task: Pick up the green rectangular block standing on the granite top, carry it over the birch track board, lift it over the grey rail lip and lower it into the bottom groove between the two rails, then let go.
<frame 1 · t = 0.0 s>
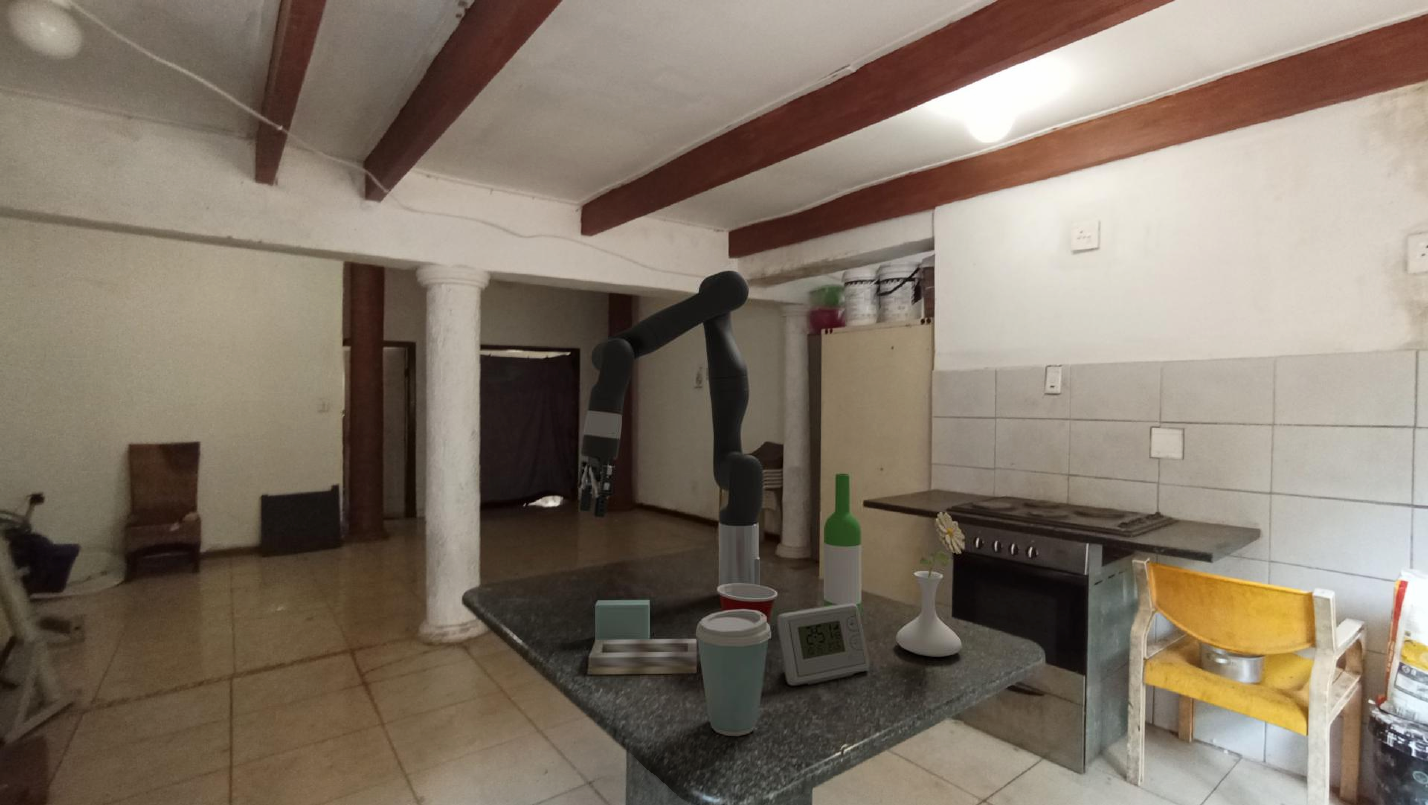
hand: (591, 513, 129), 22 cm above the counter, tool pointing down, fingers open, 8 cm apart
wine bottle: (842, 616, 134), on the counter
plastic cup: (747, 657, 112), on the counter
disposable coffee cup: (732, 725, 88), on the counter
digital clock: (823, 676, 105), on the counter
green rectangular block: (622, 639, 121), on the counter
flower in vase: (932, 651, 115), on the counter
track board: (644, 661, 110), on the counter
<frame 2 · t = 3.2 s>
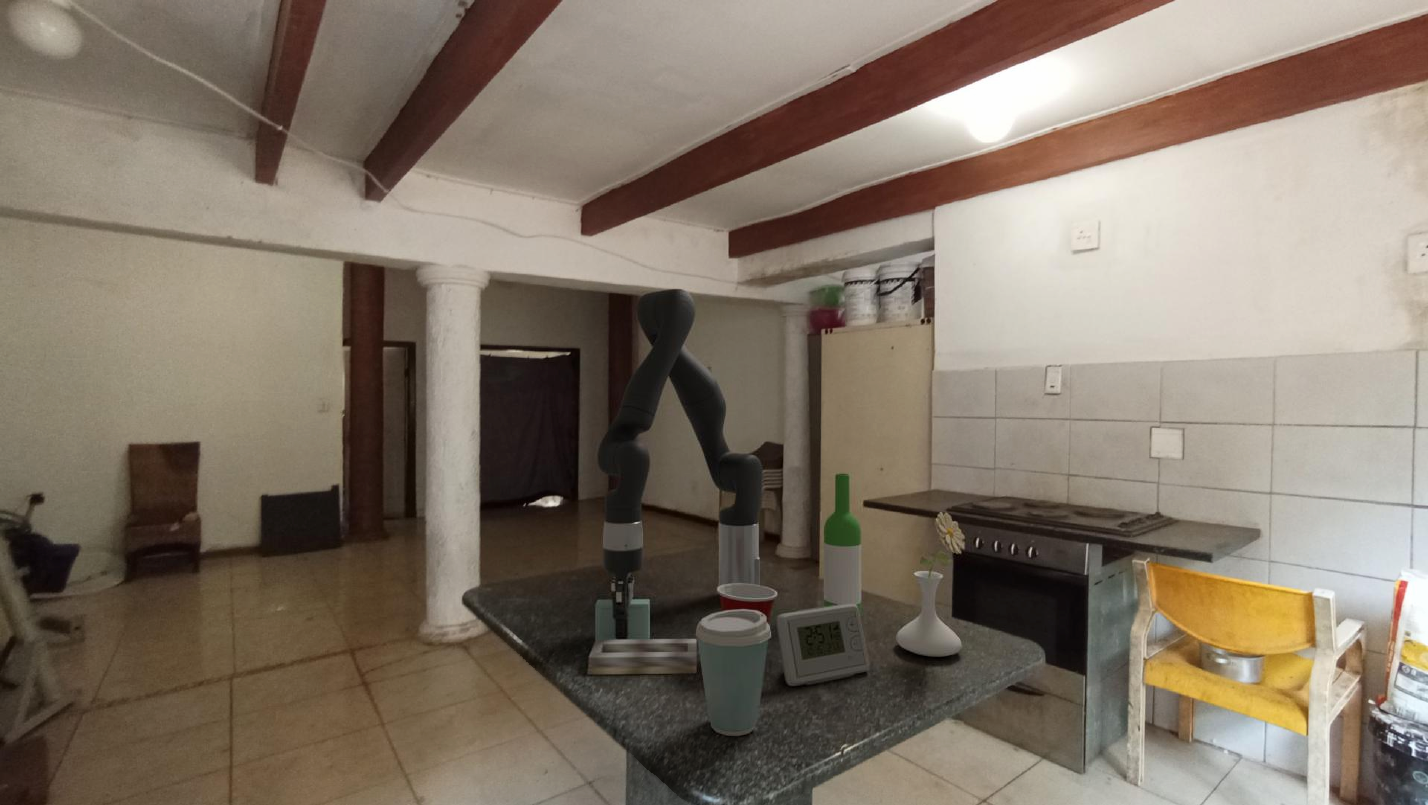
hand: (622, 634, 121), 1 cm above the counter, tool pointing down, fingers closed on green rectangular block, 3 cm apart
green rectangular block: (622, 638, 121), on the counter, touching gripper
everything else where it was.
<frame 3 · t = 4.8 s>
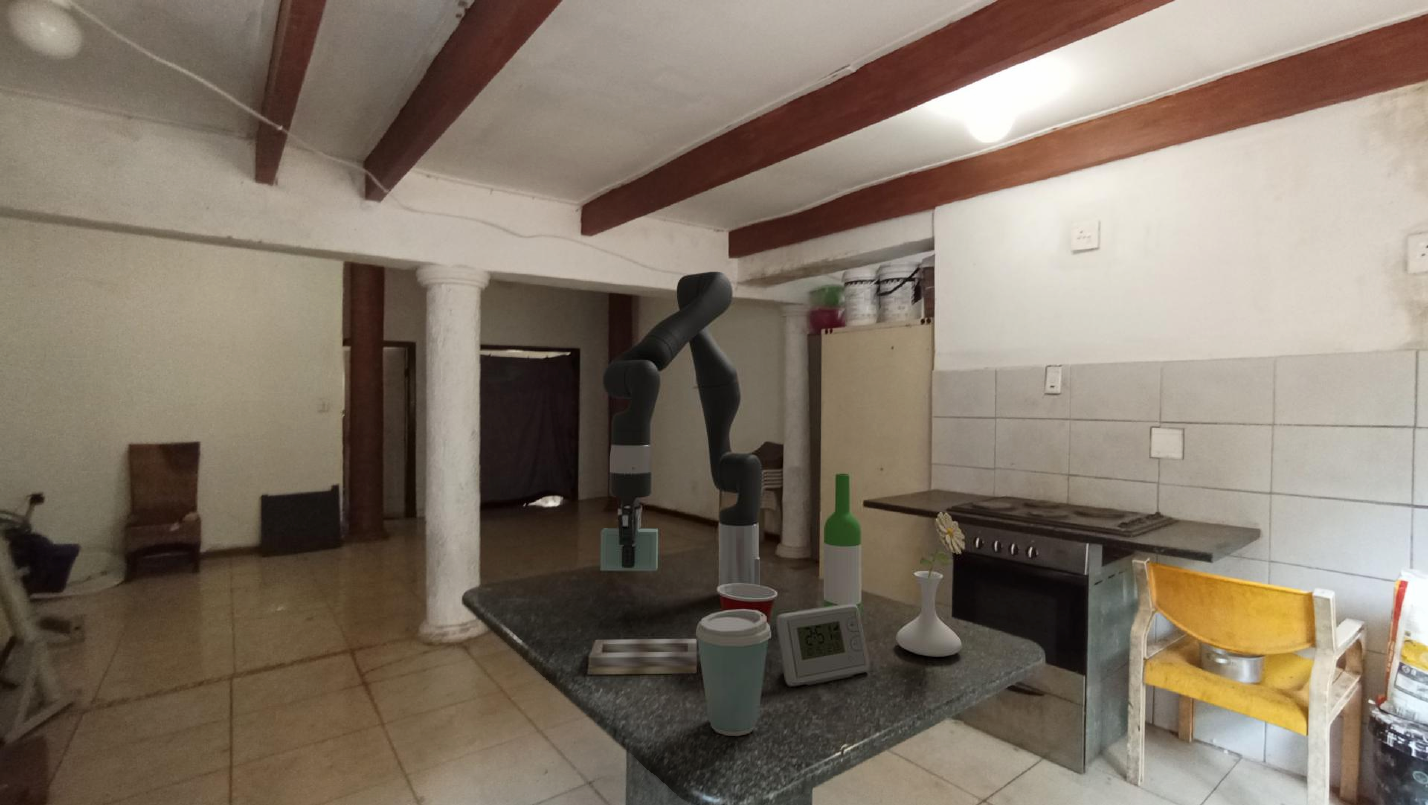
hand: (629, 564, 115), 16 cm above the counter, tool pointing down, fingers closed on green rectangular block, 3 cm apart
green rectangular block: (629, 568, 115), point 15 cm above the counter, touching gripper
everything else where it was.
when the fingers open (3 cm above the counter, at t = 6.7 s): green rectangular block drops 2 cm, resting on track board.
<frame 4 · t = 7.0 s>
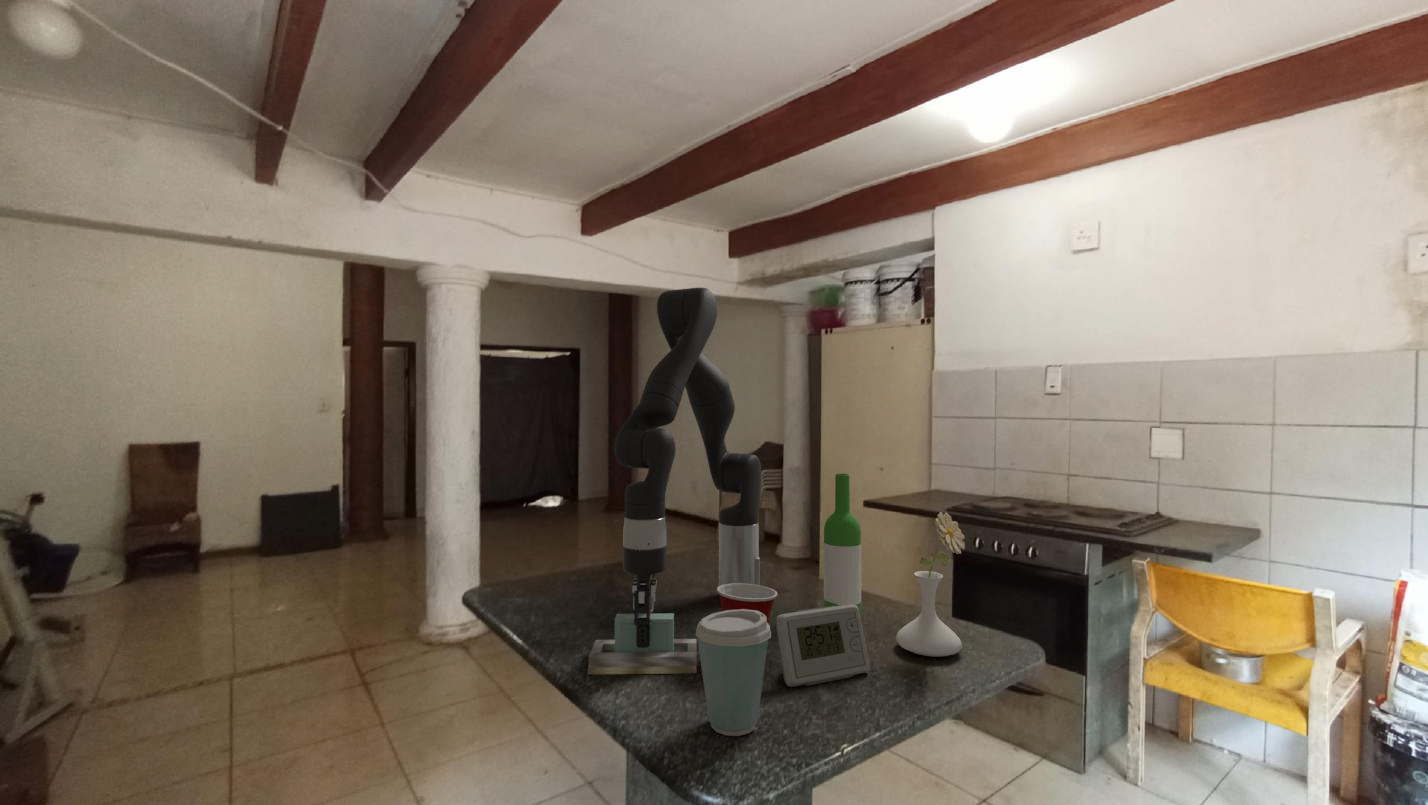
hand: (644, 639, 110), 4 cm above the counter, tool pointing down, fingers open, 5 cm apart
green rectangular block: (644, 656, 110), point 1 cm above the counter, touching track board
everything else where it was.
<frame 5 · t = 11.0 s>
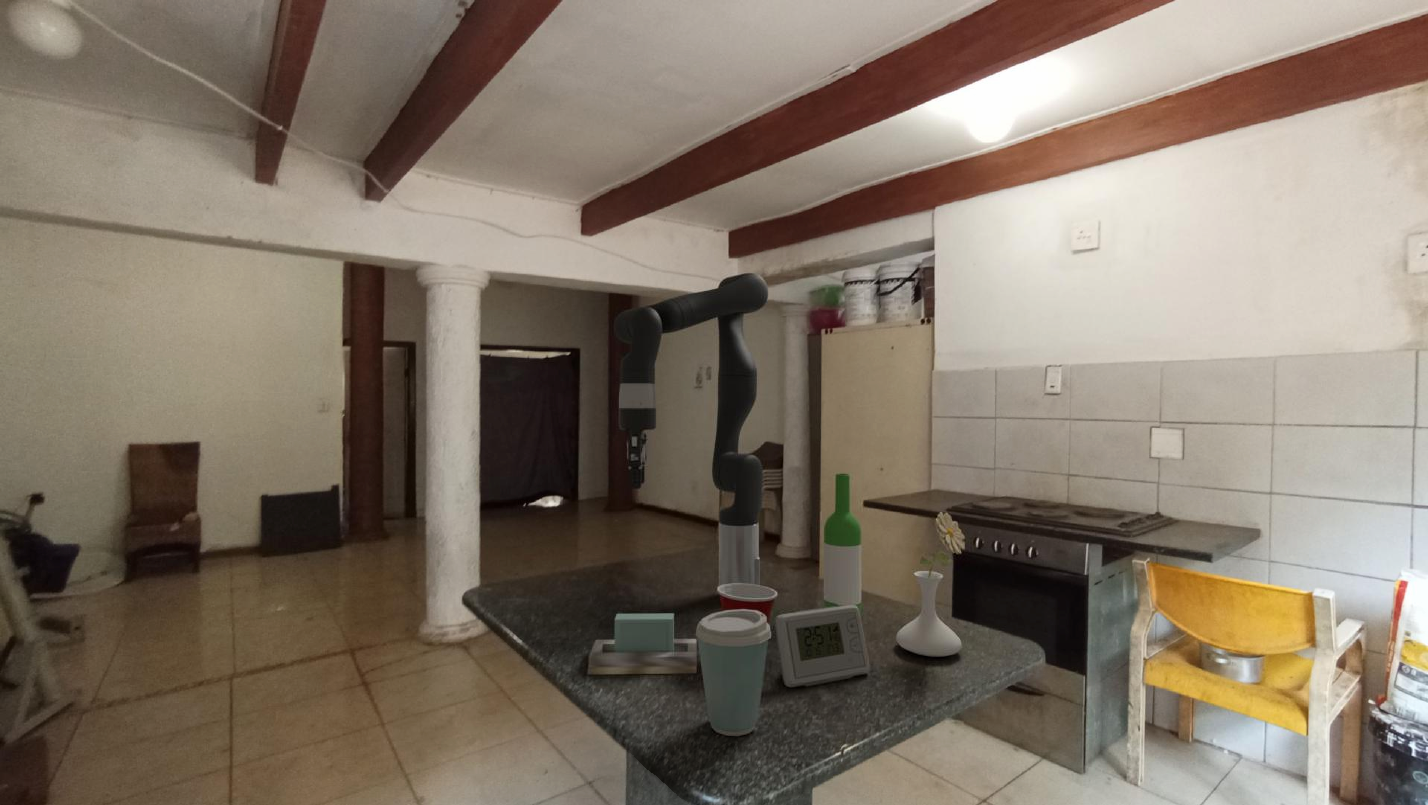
hand: (637, 485, 129), 28 cm above the counter, tool pointing down, fingers open, 8 cm apart
nothing on the counter moved.
at the end: green rectangular block 0.1 cm off-centre on the track board, point 0.8 cm above the track board's base; green rectangular block tilted 0°; the gripper is holding nothing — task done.
